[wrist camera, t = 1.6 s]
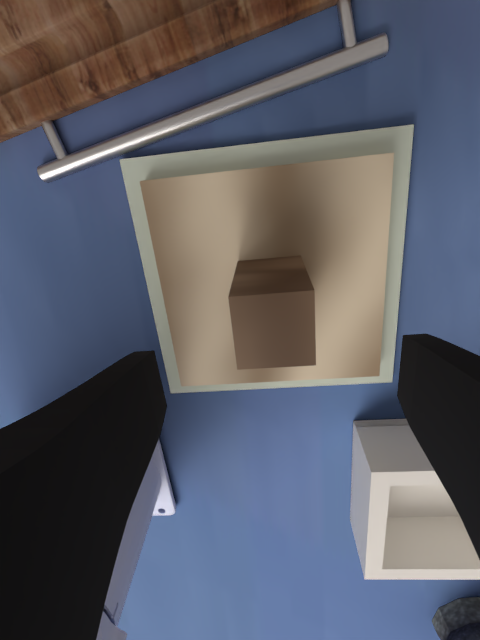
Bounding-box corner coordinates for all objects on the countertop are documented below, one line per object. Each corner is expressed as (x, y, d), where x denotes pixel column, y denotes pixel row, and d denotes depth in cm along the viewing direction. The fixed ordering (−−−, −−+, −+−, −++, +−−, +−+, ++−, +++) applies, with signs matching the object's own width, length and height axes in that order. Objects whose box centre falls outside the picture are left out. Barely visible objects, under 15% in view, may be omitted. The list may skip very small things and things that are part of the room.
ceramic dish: (350, 519, 25) (364, 579, 22) (353, 420, 22) (371, 472, 18) (481, 517, 25) (519, 579, 21) (507, 414, 21) (559, 467, 17)
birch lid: (184, 378, 21) (157, 451, 16) (145, 180, 16) (88, 188, 11) (375, 368, 20) (415, 443, 14) (387, 153, 15) (453, 147, 10)
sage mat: (172, 389, 22) (170, 393, 21) (122, 159, 16) (119, 159, 16) (389, 378, 20) (392, 382, 20) (410, 125, 15) (413, 124, 15)
